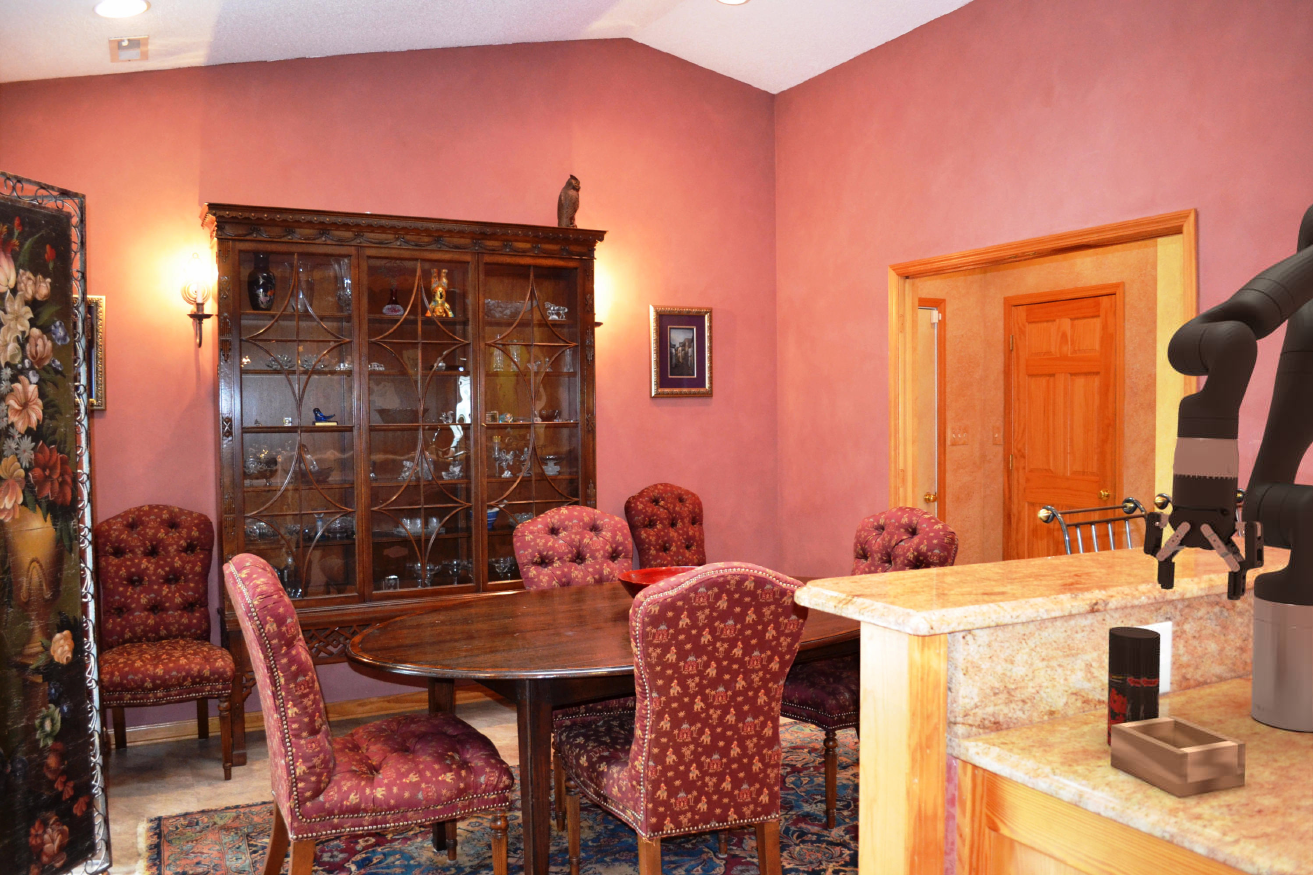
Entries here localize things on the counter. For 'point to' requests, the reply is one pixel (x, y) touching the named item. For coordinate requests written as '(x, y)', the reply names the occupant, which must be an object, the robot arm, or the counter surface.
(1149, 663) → the deodorant
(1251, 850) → the counter surface
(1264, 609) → the robot arm
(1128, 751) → the wooden box
